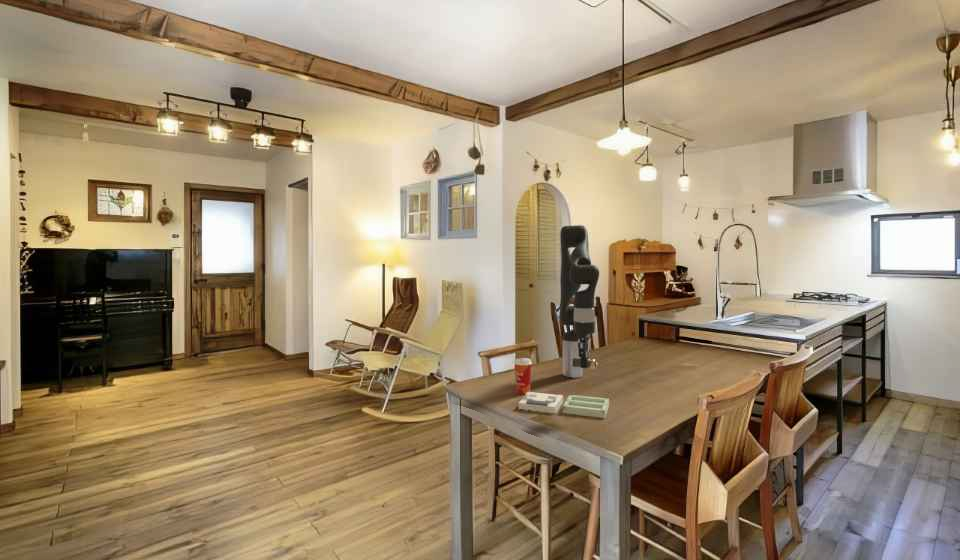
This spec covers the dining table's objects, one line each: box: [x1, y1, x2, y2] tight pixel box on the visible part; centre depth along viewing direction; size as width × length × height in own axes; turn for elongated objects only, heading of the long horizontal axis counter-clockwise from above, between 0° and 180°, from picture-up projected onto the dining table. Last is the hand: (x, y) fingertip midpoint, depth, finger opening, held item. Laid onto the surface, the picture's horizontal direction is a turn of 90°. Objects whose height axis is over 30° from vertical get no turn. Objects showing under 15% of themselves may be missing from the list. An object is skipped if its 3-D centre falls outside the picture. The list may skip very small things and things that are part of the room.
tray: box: [562, 394, 610, 419], centre depth 170 cm, size 14×15×3 cm
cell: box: [573, 358, 598, 370], centre depth 166 cm, size 3×9×3 cm, turn 68°
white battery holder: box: [518, 391, 564, 414], centre depth 175 cm, size 14×14×4 cm
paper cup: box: [513, 357, 533, 395], centre depth 191 cm, size 8×8×14 cm
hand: (584, 366), depth 166 cm, fingers closed on cell, 3 cm apart
